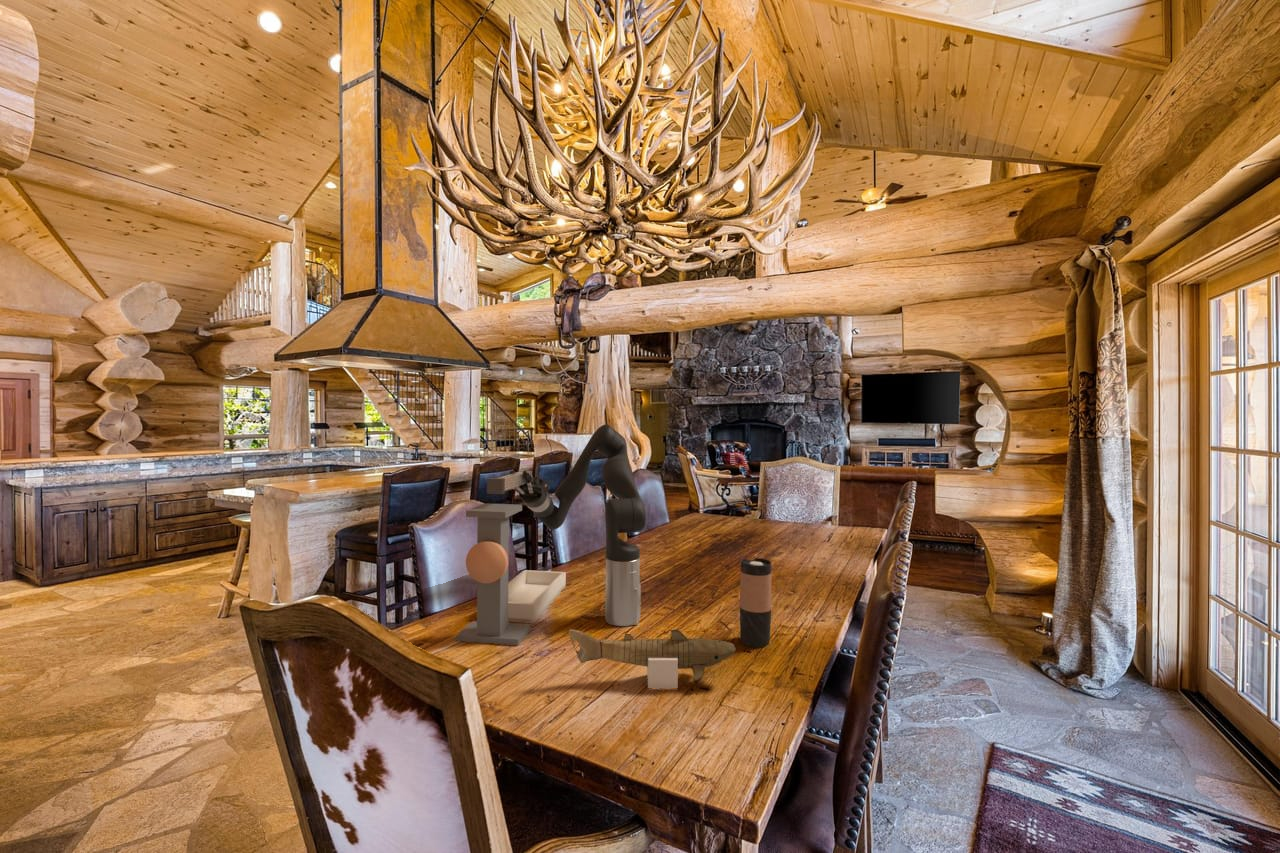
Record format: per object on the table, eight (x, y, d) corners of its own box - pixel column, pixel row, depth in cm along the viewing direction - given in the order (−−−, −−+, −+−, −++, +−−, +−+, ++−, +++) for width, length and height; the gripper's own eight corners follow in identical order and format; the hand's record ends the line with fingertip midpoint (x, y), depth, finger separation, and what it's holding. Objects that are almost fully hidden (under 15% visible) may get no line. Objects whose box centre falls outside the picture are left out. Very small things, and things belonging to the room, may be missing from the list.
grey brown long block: (532, 483, 153) (532, 470, 153) (502, 494, 131) (502, 479, 131) (519, 482, 154) (519, 469, 154) (486, 493, 132) (487, 478, 132)
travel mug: (762, 651, 125) (764, 567, 125) (733, 642, 130) (734, 562, 129) (775, 640, 131) (776, 560, 131) (747, 632, 136) (748, 555, 136)
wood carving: (570, 671, 114) (570, 620, 114) (730, 671, 115) (731, 621, 115) (565, 693, 105) (565, 638, 105) (739, 693, 106) (739, 638, 106)
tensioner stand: (532, 629, 137) (533, 505, 136) (516, 647, 126) (517, 512, 125) (474, 625, 139) (474, 503, 138) (453, 642, 128) (454, 510, 128)
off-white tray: (565, 587, 170) (565, 572, 170) (533, 623, 141) (534, 604, 141) (524, 585, 172) (524, 570, 172) (484, 619, 143) (484, 601, 143)
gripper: (516, 484, 165) (496, 461, 150) (559, 485, 163) (544, 462, 148) (511, 507, 161) (491, 485, 146) (555, 508, 159) (539, 486, 144)
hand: (517, 473), depth 147 cm, fingers closed on grey brown long block, 3 cm apart
